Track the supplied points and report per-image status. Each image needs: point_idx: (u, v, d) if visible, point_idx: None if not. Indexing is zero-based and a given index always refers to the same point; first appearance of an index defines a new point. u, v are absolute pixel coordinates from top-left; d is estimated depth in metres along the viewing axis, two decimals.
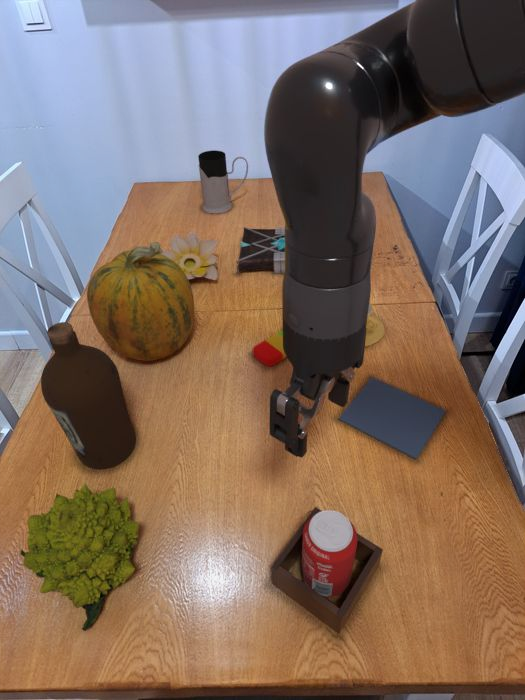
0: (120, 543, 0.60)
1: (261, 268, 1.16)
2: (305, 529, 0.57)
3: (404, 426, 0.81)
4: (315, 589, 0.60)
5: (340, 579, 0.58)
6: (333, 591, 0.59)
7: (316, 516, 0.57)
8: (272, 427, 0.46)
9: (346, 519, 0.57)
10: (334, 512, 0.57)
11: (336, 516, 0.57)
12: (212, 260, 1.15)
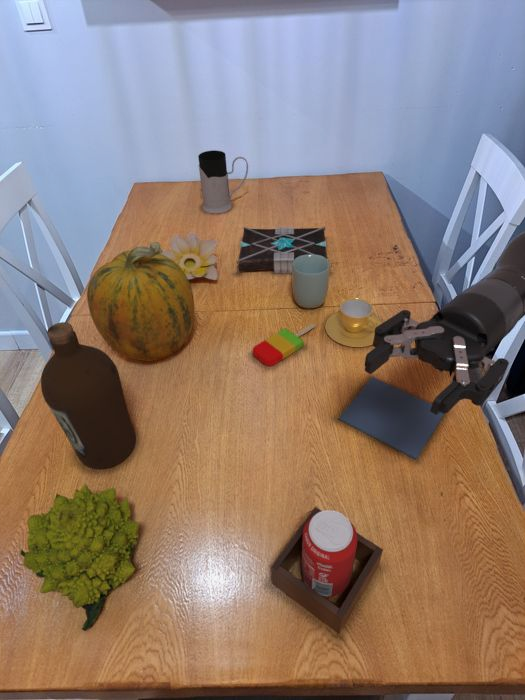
0: (120, 543, 0.60)
1: (261, 268, 1.16)
2: (305, 529, 0.57)
3: (404, 426, 0.81)
4: (315, 589, 0.60)
5: (340, 579, 0.58)
6: (333, 591, 0.59)
7: (316, 516, 0.57)
8: (492, 384, 0.51)
9: (346, 519, 0.57)
10: (334, 512, 0.57)
11: (336, 516, 0.57)
12: (212, 260, 1.15)
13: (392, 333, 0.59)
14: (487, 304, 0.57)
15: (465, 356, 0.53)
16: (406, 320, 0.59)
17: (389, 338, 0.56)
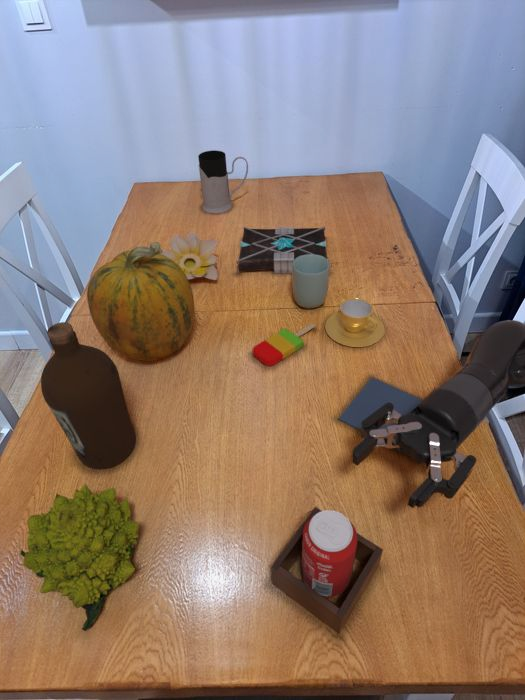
0: (120, 543, 0.60)
1: (261, 268, 1.16)
2: (305, 529, 0.57)
3: None
4: (315, 589, 0.60)
5: (340, 579, 0.58)
6: (333, 591, 0.59)
7: (316, 516, 0.57)
8: (461, 481, 0.59)
9: (346, 519, 0.57)
10: (334, 512, 0.57)
11: (336, 516, 0.57)
12: (212, 260, 1.15)
13: (377, 424, 0.68)
14: (459, 403, 0.65)
15: (439, 453, 0.61)
16: (389, 413, 0.67)
17: (374, 433, 0.65)
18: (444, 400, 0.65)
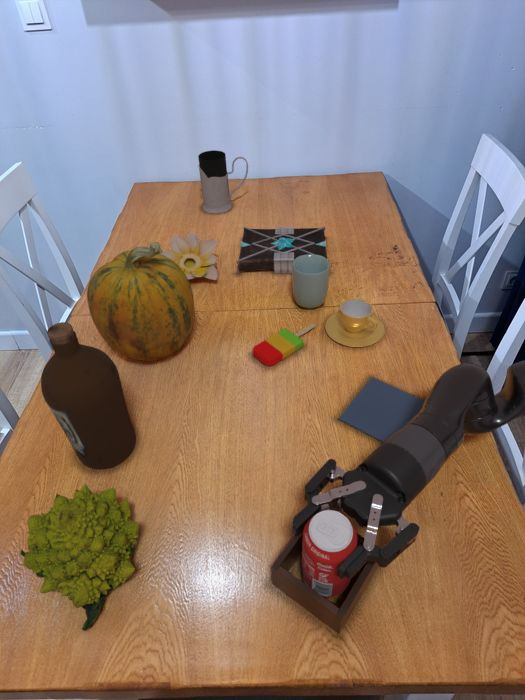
0: (120, 543, 0.60)
1: (261, 268, 1.16)
2: (305, 529, 0.57)
3: None
4: (315, 589, 0.60)
5: (340, 579, 0.58)
6: (333, 591, 0.59)
7: (316, 516, 0.57)
8: (396, 552, 0.55)
9: (346, 519, 0.57)
10: (334, 512, 0.57)
11: (336, 516, 0.57)
12: (212, 260, 1.15)
13: (321, 485, 0.62)
14: (407, 460, 0.60)
15: (378, 518, 0.57)
16: (333, 472, 0.62)
17: (316, 499, 0.59)
18: (391, 457, 0.61)
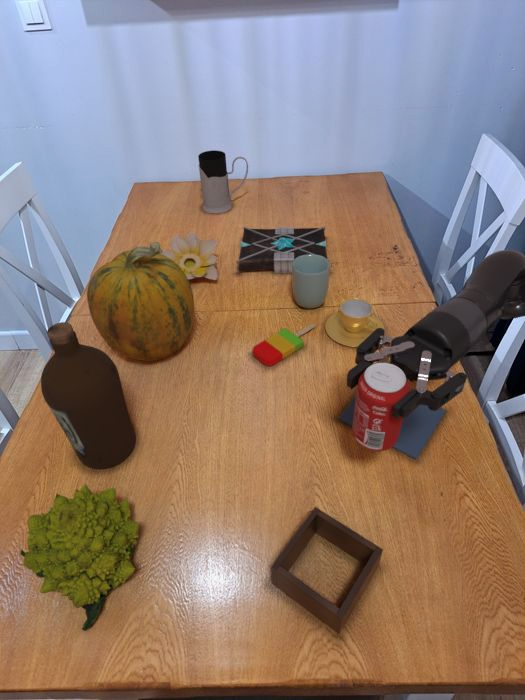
0: (120, 543, 0.60)
1: (261, 268, 1.16)
2: (360, 379, 0.61)
3: (404, 426, 0.81)
4: (367, 442, 0.64)
5: (392, 427, 0.62)
6: (385, 442, 0.64)
7: (370, 367, 0.61)
8: (446, 394, 0.59)
9: (398, 369, 0.61)
10: (387, 364, 0.62)
11: (389, 367, 0.61)
12: (212, 260, 1.15)
13: (371, 350, 0.67)
14: (452, 322, 0.64)
15: (428, 368, 0.61)
16: (382, 337, 0.66)
17: (369, 357, 0.63)
18: (437, 320, 0.65)
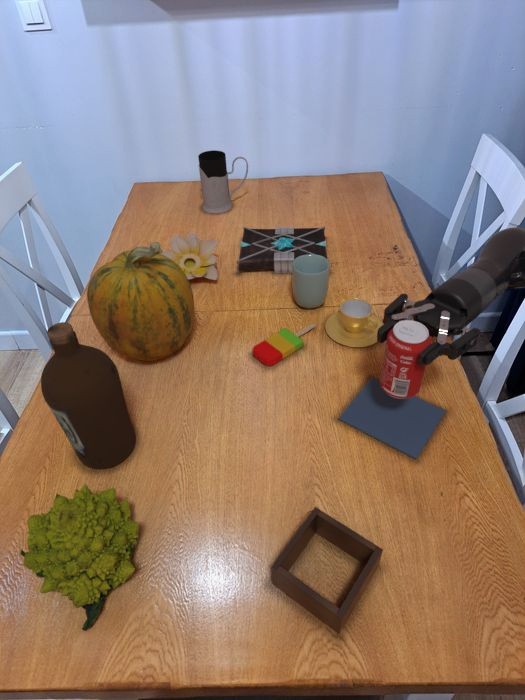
0: (120, 543, 0.60)
1: (261, 268, 1.16)
2: (389, 334, 0.72)
3: (404, 426, 0.81)
4: (394, 390, 0.75)
5: (416, 376, 0.72)
6: (409, 390, 0.74)
7: (397, 324, 0.72)
8: (463, 345, 0.69)
9: (422, 325, 0.71)
10: (412, 321, 0.72)
11: (414, 324, 0.72)
12: (212, 260, 1.15)
13: (396, 312, 0.77)
14: (467, 287, 0.75)
15: (447, 325, 0.71)
16: (406, 301, 0.77)
17: (395, 316, 0.74)
18: (454, 285, 0.75)
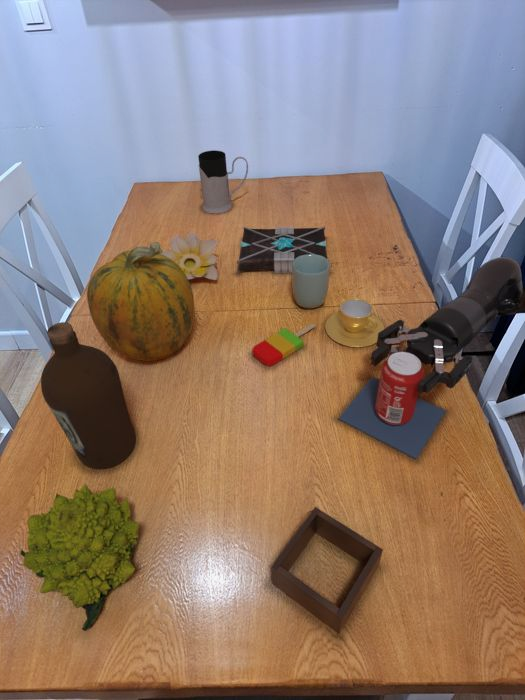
0: (120, 543, 0.60)
1: (261, 268, 1.16)
2: (384, 365, 0.76)
3: (404, 426, 0.81)
4: (388, 417, 0.79)
5: (409, 404, 0.77)
6: (403, 417, 0.79)
7: (392, 355, 0.76)
8: (460, 373, 0.73)
9: (415, 357, 0.76)
10: (405, 353, 0.76)
11: (407, 355, 0.76)
12: (212, 260, 1.15)
13: (390, 337, 0.81)
14: (458, 316, 0.79)
15: (442, 353, 0.75)
16: (400, 327, 0.81)
17: (388, 340, 0.79)
18: (446, 314, 0.79)
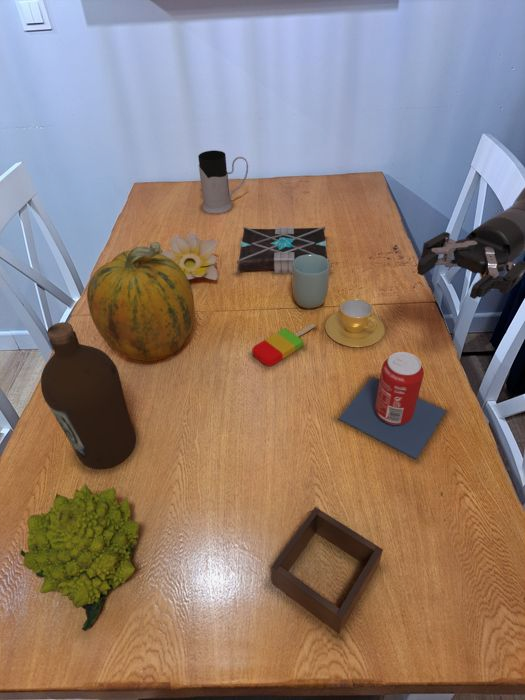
0: (120, 543, 0.60)
1: (261, 268, 1.16)
2: (384, 365, 0.76)
3: (404, 426, 0.81)
4: (388, 417, 0.79)
5: (409, 404, 0.77)
6: (403, 417, 0.79)
7: (392, 355, 0.76)
8: (515, 277, 0.69)
9: (415, 357, 0.76)
10: (405, 353, 0.76)
11: (407, 355, 0.76)
12: (212, 260, 1.15)
13: None
14: (509, 224, 0.75)
15: (494, 259, 0.71)
16: (447, 238, 0.77)
17: (435, 249, 0.74)
18: (496, 222, 0.75)
